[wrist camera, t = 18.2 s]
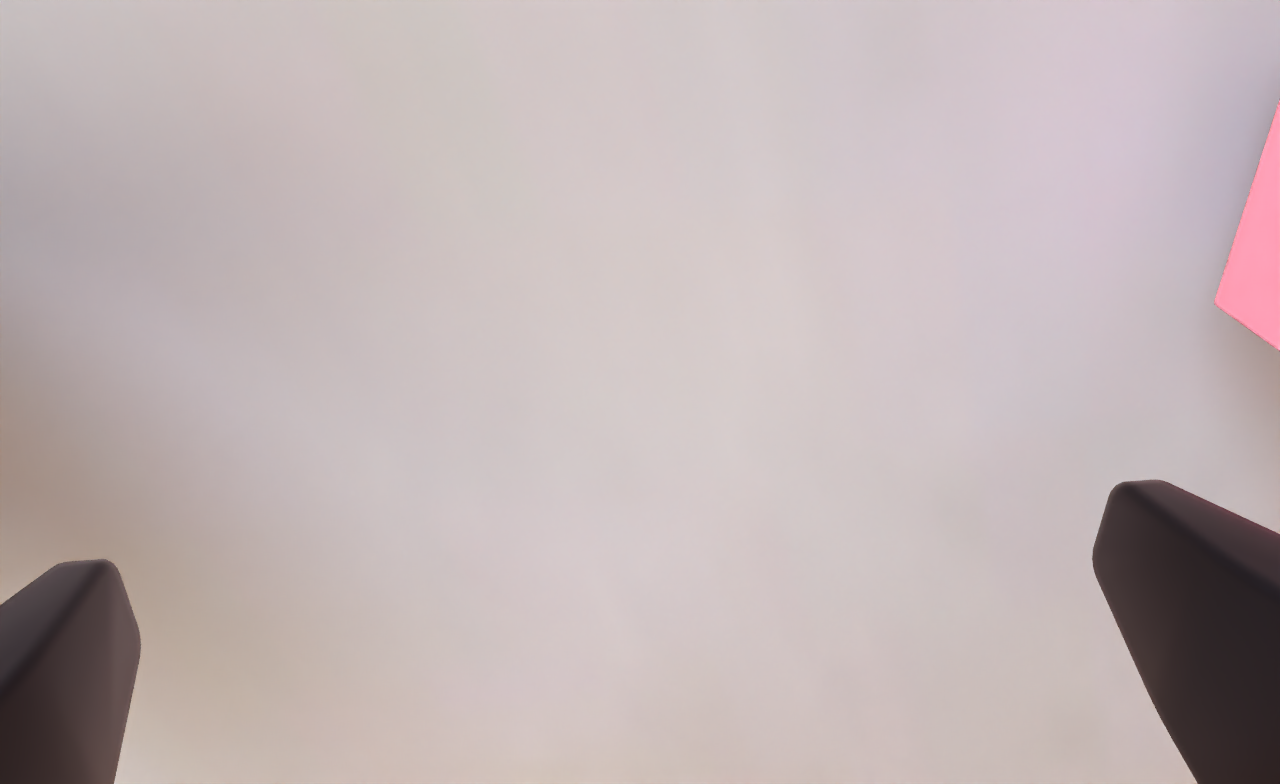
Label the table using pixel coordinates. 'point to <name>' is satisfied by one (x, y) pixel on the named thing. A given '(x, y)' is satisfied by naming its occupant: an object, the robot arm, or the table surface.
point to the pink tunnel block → (1257, 251)
